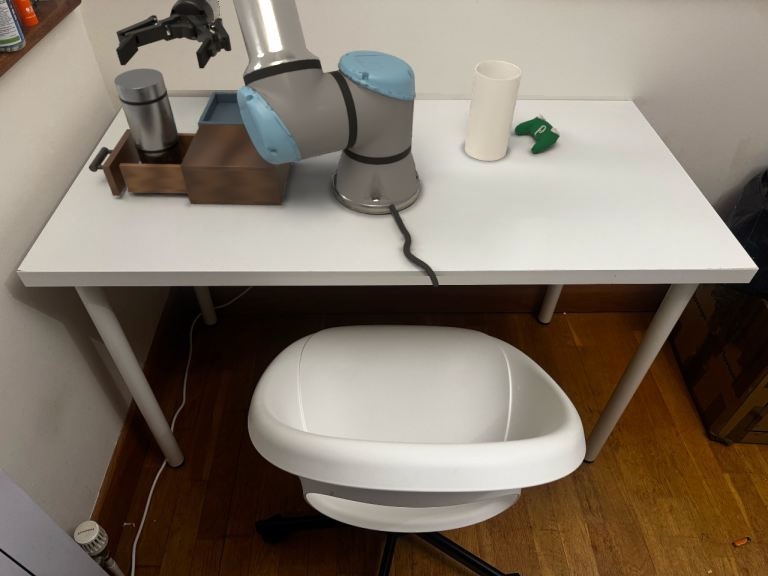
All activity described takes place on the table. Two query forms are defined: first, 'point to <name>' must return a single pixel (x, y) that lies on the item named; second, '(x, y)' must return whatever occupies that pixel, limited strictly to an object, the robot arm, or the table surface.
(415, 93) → the robot arm
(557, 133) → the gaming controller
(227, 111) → the tray
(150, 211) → the table surface
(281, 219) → the table surface
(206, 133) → the cabinet
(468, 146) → the cup
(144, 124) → the steel travel flask
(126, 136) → the drawer
